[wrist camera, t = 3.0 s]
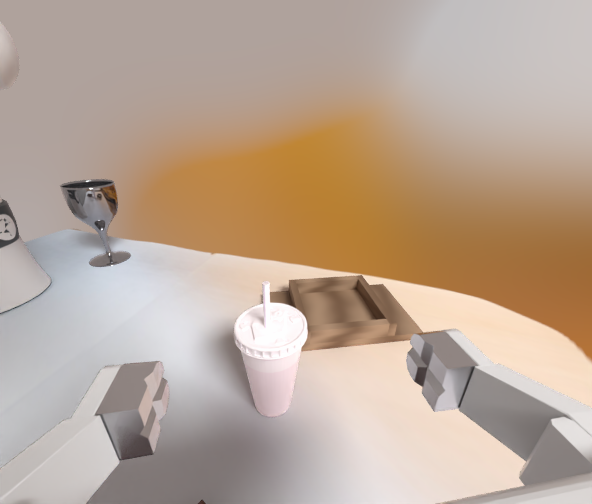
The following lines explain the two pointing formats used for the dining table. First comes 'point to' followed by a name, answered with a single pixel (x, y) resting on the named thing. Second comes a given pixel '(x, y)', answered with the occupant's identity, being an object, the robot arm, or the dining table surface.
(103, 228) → the wine glass
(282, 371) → the smoothie
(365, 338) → the tray
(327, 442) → the dining table surface
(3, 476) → the robot arm
